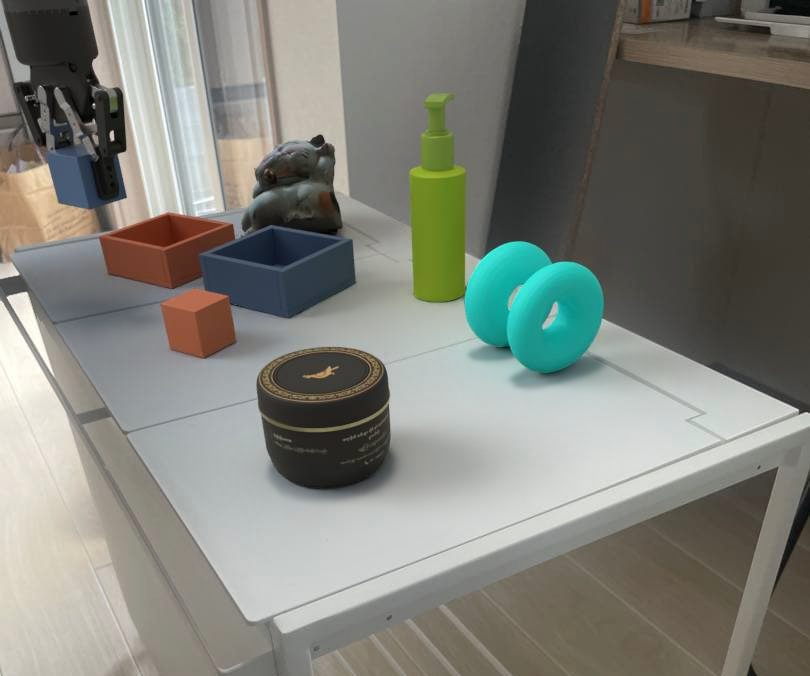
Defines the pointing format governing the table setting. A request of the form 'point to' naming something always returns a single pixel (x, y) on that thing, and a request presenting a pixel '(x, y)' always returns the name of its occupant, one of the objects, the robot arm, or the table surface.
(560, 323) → the donuts
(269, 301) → the blue bin
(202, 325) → the terracotta block
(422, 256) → the soap dispenser
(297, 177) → the lucky cat figurine
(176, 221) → the terracotta bin
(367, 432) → the jar
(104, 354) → the table surface
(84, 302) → the table surface
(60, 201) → the blue block
